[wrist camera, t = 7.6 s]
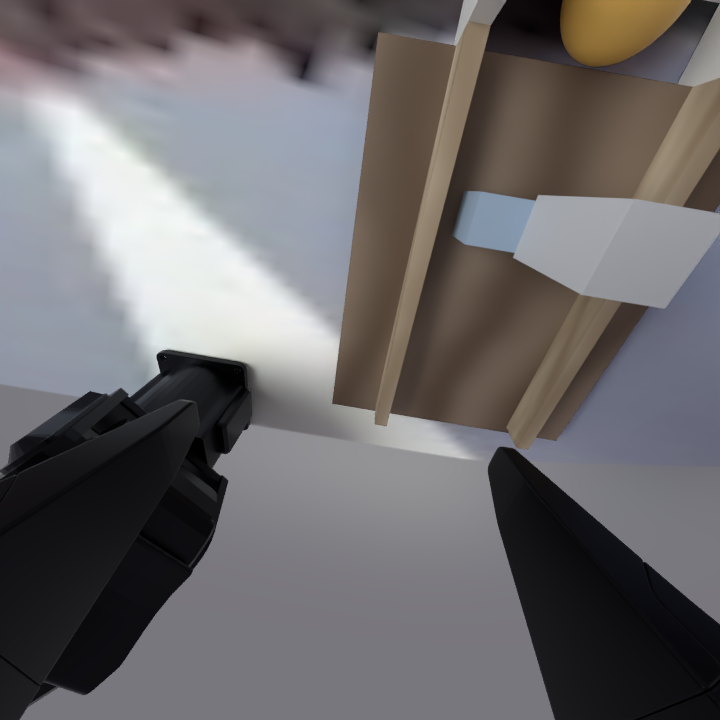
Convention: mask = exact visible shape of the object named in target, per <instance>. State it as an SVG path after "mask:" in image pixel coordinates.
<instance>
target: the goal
mask: <svg viewBox="0 0 720 720" xmlns="http://www.w3.org/2000/svg"><path fill="white" fill-rule="evenodd" d="M506 1H507V0H464V1H463V6H462V10H461V15H460V19H459V24H458V29H457V33H456V38H455V42H454V45H455V46H456V45H457V43H458V41H459V39H460V37H461V35H462V33H463V31H464V29H465V27H466V25H467V23H468V21H469V22H475V23H481V24H486V25H491V24H492V23H493V21H494V19H495V18H496V16H497V15H498V13H499V12H500V10H501V8H502V7H503V5H504V4H505V2H506ZM706 1H711V2H717V3H720V0H706ZM718 78H720V4H719V6H718V8H717V10H716V11H715V13H714V15H713V17H712V19H711V21H710V23H709V25H708V27H707V29H706V30H705V32H704V34H703V36H702V38H701V40H700V42H699V44H698V46H697V48H696V50H695V51H694V53H693V55H692V57H691V59H690V61H689V63H688V65H687V67H686V69H685V70H684V72H683V74H682V76H681V78H680V80H679V82H678V84H679V85H685V86H691V87H694V86H697V85H700V84H703V83H706V82H709V81H712V80H715V79H718Z"/></svg>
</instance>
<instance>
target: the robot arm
mask: <svg viewBox="0 0 720 720" xmlns="http://www.w3.org/2000/svg"><path fill="white" fill-rule="evenodd" d="M164 356H165V357H166V358H165V357H164ZM157 361H158V365H159V369H160V374H158V375H157V376H156V377H155V378H153V379H152V380H151V381H150V382H148V383H147V384H146V385H145V386H144V387H142V388H141V389H140V390H139V391H137V392H136V393H135V394H134V395H132V396H131V397H130V398H129V397H128V395H129V394H128V393H126V392H125V391H124V390H123V389H122V388H120V389H118V390H117V391H115V392H114V393H112V394H110V395H107V394H99V393H95V392H91V391H90V392H88V393H87V394H85V395H84V396H82V397H81V398H79V399H78V400H77V401H75V402H73V403H72V404H71V405H69V406H68V407H67V408H65V409H63V410H62V411H60V412H59V413H57V414H56V415H54V416H53V417H52V418H50V419H49V420H47V421H46V422H44V423H43V424H41V425H40V426H38V427H37V428H36V429H34V430H33V431H31V432H30V433H28V434H27V435H26V436H24V437H23V438H21V439H20V440H18V441H17V442H15V443H14V444H12V445H11V446H10V453H9V461H8V464H7V465H5V466H4V467H3V468H2V469H0V473H1V474H0V720H19V719H20V718H21V716H22V715H23V714H24V712H25V710H26V709H27V707H29V706H30V705H32V704H34V703H35V702H37V701H38V700H40V699H41V698H43V697H44V696H46V695H47V694H49V693H51V692H52V691H54V690H55V689H57V688H58V687H60V688H63V689H66V690H69V691H73V692H75V693H78V694H81V695H86V694H88V693H90V692H91V691H92V690H94V689H95V688H96V687H97V686H98V685H99V684H100V683H102V682H103V681H104V680H105V679H106V678H107V677H109V675H111V674H112V673H113V672H114V671H115V670H116V669H118V668H119V667H120V665H121V664H122V663H123V661H124V660H125V658H126V657H127V655H128V654H129V652H130V650H131V649H132V648H133V646H134V645H135V643H136V642H137V640H138V639H139V637H140V636H141V634H142V633H143V631H144V630H145V629H146V627H147V626H148V624H149V623H150V621H151V620H152V619H153V617H154V616H155V614H156V613H157V612H158V611H159V609H160V608H161V607H162V606H163V605H164V603H165V602H166V601H167V600H168V598H169V597H170V596H171V595H172V593H174V592H175V590H177V589H178V588H179V587H180V585H182V583H183V582H184V581H185V580H186V579H187V578H188V577H189V576H190V575H191V574H192V571H193V569H194V568H195V566H196V565H197V563H198V562H199V561H200V560H201V558H202V557H203V555H204V554H205V552H206V550H207V549H208V547H209V545H210V543H211V541H212V538H213V535H214V532H215V529H216V525H217V521H218V517H219V514H220V510H221V506H222V503H223V499H224V495H225V492H226V488H227V484H228V480H227V479H226V478H225V477H224V476H222V475H221V476H220V475H219V474H218V473H217V472H216V471H214V470H213V469H212V468H213V466H214V465H215V463H216V462H217V460H218V458H219V457H220V455H221V454H227V453H229V452H230V451H231V449H232V448H233V446H234V444H235V443H236V441H237V439H238V438H239V436H240V434H241V433H242V431H243V430H246V429H248V427H249V425H250V418H251V416H252V409H251V392H250V391H249V389H248V385H247V370H246V366H245V365H244V364H242V363H240V362H234V361H228V360H222V359H216V358H210V357H204V356H198V355H192V354H186V353H180V352H174V351H168V350H162V351H161V352H159V353H158V354H157ZM237 368H239V369H240V370H241V371H239V370H238V369H237ZM488 475H489V481H490V486H491V492H492V497H493V502H494V508H495V513H496V518H497V523H498V527H499V530H500V534H501V537H502V540H503V544H504V548H505V551H506V554H507V558H508V561H509V565H510V568H511V571H512V575H513V578H514V582H515V585H516V588H517V592H518V595H519V599H520V602H521V606H522V609H523V612H524V616H525V619H526V623H527V626H528V629H529V633H530V636H531V639H532V643H533V647H534V650H535V653H536V657H537V660H538V663H539V667H540V670H541V674H542V677H543V681H544V684H545V687H546V691H547V694H548V697H549V701H550V704H551V708H552V711H553V715H554V718H555V720H720V624H719V623H717V622H716V621H715V620H714V619H713V618H711V617H710V616H709V615H707V614H706V613H705V612H704V611H703V610H701V609H700V608H699V607H698V606H696V605H695V604H694V603H693V602H692V601H690V600H689V599H688V598H687V597H686V596H685V595H683V594H682V593H681V592H680V591H679V590H677V589H676V588H675V587H674V586H673V585H672V584H670V583H669V582H668V581H667V580H666V579H664V578H663V577H662V576H661V575H660V574H659V573H657V572H656V571H655V570H654V569H653V568H652V567H651V566H649V565H648V564H647V563H646V562H643V560H642V559H641V558H640V557H639V556H638V555H637V554H635V553H634V552H633V551H632V550H631V549H630V548H628V547H627V546H626V545H625V544H624V543H623V542H622V541H620V540H619V539H618V538H617V537H616V536H615V535H613V534H612V533H611V532H610V531H609V530H608V529H607V528H605V527H604V526H603V525H602V524H601V523H600V522H598V521H597V520H596V519H595V518H594V517H593V516H591V515H590V514H589V513H588V512H587V511H585V510H584V509H583V508H582V507H581V506H580V505H579V504H578V503H577V502H575V501H574V500H573V499H572V498H571V497H570V496H568V495H567V494H566V493H565V492H564V491H562V490H561V489H560V488H559V487H558V486H557V485H556V484H555V483H553V482H552V481H551V480H550V479H549V478H548V477H546V476H545V475H544V474H543V473H541V471H539V470H538V469H537V468H536V467H535V466H533V464H531V463H530V462H529V461H528V460H527V459H526V458H524V457H523V456H522V455H521V454H520V453H519V452H518V451H516V450H515V449H513V448H508V447H499V448H498V449H497V450H496V452H495V454H494V456H493V458H492V460H491V461H490V463H489V466H488Z"/></svg>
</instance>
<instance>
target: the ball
mask: <svg viewBox="0 0 720 720" xmlns="http://www.w3.org/2000/svg"><path fill="white" fill-rule="evenodd" d="M690 2H691V0H563V1H562V6H561V14H560V31H561V37H562V41H563V44H564V46H565V48H566V50H567V52H568V53H569V55H570V56H571V57H572V58H573V59H575V60H576V61H577V62H579V63H581V64H584V65H587V66H593V67H600V66H608V65H612V64H616V63H618V62H621V61H623V60H626V59H628V58H630V57H632V56H634V55H635V54H637V53H639V52H640V51H642V50H643V49H645V48H646V47H647V46H649V45H650V44H651V43H653V42H654V41H655V40H656V39H657V38H659V37H660V36H661V35H662V34H663V33H664V32H665V31H666V30H667V29H668V28H669V27H670V26H671V25H672V24H673V23H674V22H675V21H676V20H677V18H678V17H679V16H680V15H681V14H682V12H683V11H684V10H685V9H686V7H687V6H688V5H689V3H690Z"/></svg>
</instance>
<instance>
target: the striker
mask: <svg viewBox="0 0 720 720" xmlns="http://www.w3.org/2000/svg"><path fill="white" fill-rule="evenodd" d="M719 234H720V213H714V212H709V211H703V210H697V209H691V208H685V207H679V206H674V205H668V204H662V203H656V202H650V201H644V200H638V199H625V198H599V197H574V196H548V195H538V197H537V199H536V201H534V200H528V199H522V198H516V197H511V196H505V195H499V194H493V193H487V192H480V191H464V193H463V197H462V200H461V204H460V207H459V211H458V214H457V218H456V221H455V225H454V228H453V232H452V236H454V237H455V238H457V239H458V240H459V241H461V242H462V243H464V244H465V245H471V246H477V247H483V248H489V249H495V250H501V251H507V252H512V253H515V254H514V257H513V258H515V259H516V260H518V261H520V262H522V263H524V264H526V265H528V266H529V267H531V268H533V269H535V270H537V271H539V272H540V273H542V274H544V275H546V276H548V277H550V278H551V279H553V280H555V281H557V282H559V283H561V284H563V285H564V286H566V287H568V288H570V289H572V290H574V291H575V292H577V293H579V294H581V295H585V296H591V297H597V298H603V299H609V300H615V301H621V302H627V303H633V304H639V305H645V306H651V307H656V308H662V309H665V308H666V307H667V305H668V304H669V303H670V301H671V300H672V298H673V297H674V296H675V294H676V293H677V292H678V290H679V289H680V287H681V286H682V285H683V283H684V282H685V281H686V279H687V278H688V276H689V275H690V274H691V272H692V271H693V269H694V268H695V267H696V265H697V264H698V263H699V261H700V260H701V258H702V257H703V256H704V254H705V253H706V252H707V250H708V249H709V247H710V246H711V245H712V243H713V242H714V240H715V239H716V238H717V236H718V235H719Z"/></svg>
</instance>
